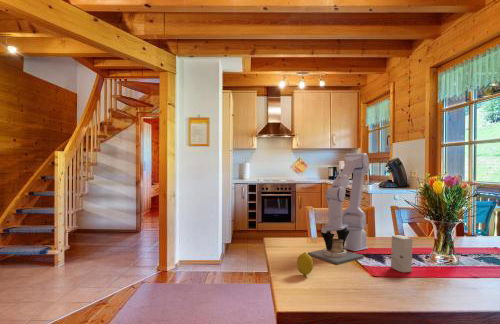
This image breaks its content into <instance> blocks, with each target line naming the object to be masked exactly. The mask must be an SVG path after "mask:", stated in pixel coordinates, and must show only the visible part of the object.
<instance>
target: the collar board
mask: <svg viewBox="0 0 500 324" xmlns="http://www.w3.org/2000/svg"><path fill="white" fill-rule="evenodd" d="M307 254H309V255H310V256H311V257H312V258H316V259H319V260H322V261H325V262H328V263H331V264H335V265H341V264H345V263H349V262H354V261H358V260H362V259H364V257H365V255H362V254H359V253H356V252H353V251H352V252H351V251H350V250H349V251H348V250H347V249H345V248H343V252H341V253H332V252H330V250H328V249H327V248H326V247H325V248H323V249H319V250H314V251H308V252H307Z"/></svg>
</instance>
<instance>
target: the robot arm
mask: <svg viewBox="0 0 500 324" xmlns="http://www.w3.org/2000/svg"><path fill="white" fill-rule="evenodd" d="M369 163H370V159H369V155H368V154H367V153H366V152H363V153H346V154H345V155H344V158H343V164H344V165H343V168H342V170H341V173H340V174H337V175H336V178H334V180H333V183H332V185H331V186H330V187H328V188H326V191H325V198H326V204H327V207H328V209H327V211H328V212H327V213H328V214H327V220H328V221H327V225H326V226H321V231H320V235H321V236H322V238H323V240H324V244H325V248H327V249H328V250H331V249H332V241H333V238H334V236H335V234H334V233H332V232H336V233H337V239H342V240H343V249H344V250H347V251H348V250H349V251H352V252H358V251H362V250H368V249H369V247H368V246H367V232H366V231H365V228H366V226H367V219H366V218H367V216H366V212H365V211H364V210H362V209H361V205H362V198H363V197H362V196H363V188H364V179H365V175H366V173H368V171H369ZM351 175H352V182H351V189H350V196H349V204H348V207H347V208H346V209H344V210H343V201H344V200H345V199H346V198H345V197H346V192H347V191H346V189H347V187H348V186H349V183H350V178H349V177H350V176H351Z"/></svg>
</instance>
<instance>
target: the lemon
mask: <svg viewBox="0 0 500 324" xmlns="http://www.w3.org/2000/svg"><path fill="white" fill-rule="evenodd" d="M296 267H297V270H298V272H299V274H301V275H303V276H304V277H306V276H307V275H309V274H310V273H311V272H312V270H313V268H314V261H313V257H312V256H310V255H309V254H308V252H303V253H300V254H299V255H298V257H297V259H296Z"/></svg>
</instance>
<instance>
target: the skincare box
mask: <svg viewBox="0 0 500 324" xmlns="http://www.w3.org/2000/svg"><path fill="white" fill-rule="evenodd" d="M390 258H391V259H390V268H392V269H393V270H396V272H397V271H398V272H399V273H411V272H412V271H413V270H412V266H413V265H412V263H413V238H411V237H408V236H406V235H401V234H397V235H391V256H390Z"/></svg>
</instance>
